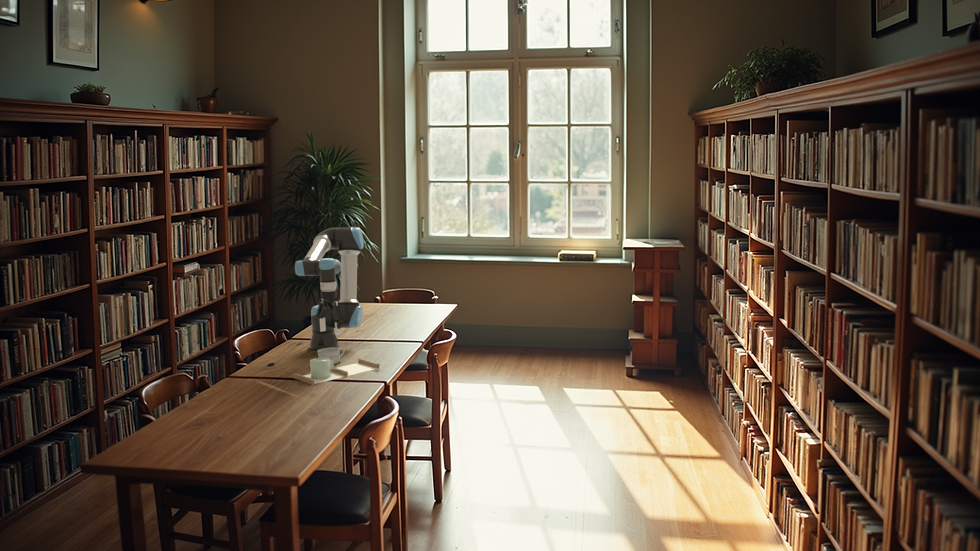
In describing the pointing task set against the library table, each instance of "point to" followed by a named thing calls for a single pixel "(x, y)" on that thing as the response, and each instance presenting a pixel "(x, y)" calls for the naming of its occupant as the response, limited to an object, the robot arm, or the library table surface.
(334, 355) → the teacup
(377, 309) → the library table surface
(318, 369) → the pale green cup
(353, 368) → the beige tray
